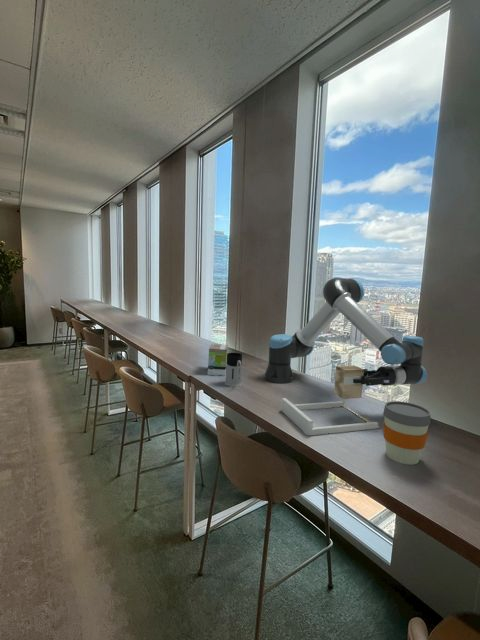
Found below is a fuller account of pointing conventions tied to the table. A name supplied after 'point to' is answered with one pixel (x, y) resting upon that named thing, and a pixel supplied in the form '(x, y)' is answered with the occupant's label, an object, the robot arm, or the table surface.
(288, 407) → the bay
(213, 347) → the tea box
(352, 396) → the tan cardboard box
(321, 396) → the table surface
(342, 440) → the table surface
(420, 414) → the reusable coffee cup
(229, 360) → the glass holder
